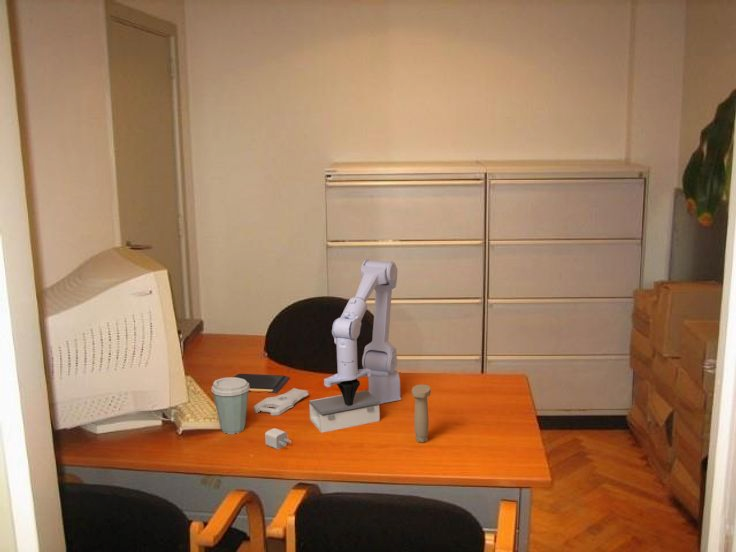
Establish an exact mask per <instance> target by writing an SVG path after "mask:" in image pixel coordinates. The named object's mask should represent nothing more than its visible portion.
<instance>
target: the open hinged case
mask: <svg viewBox="0 0 736 552" xmlns="http://www.w3.org/2000/svg"><path fill="white" fill-rule="evenodd" d="M308 404H309V420H310V421H311V422H312V424H313V425H314V426H315V427H316V429H317V430H318V431H319V432H320V433H321V434H322V433H326V432H332V431H337V430H341V429H347V428H353V427H357V426H362V425H366V424H373V423H377V422H380V419H381V418H380V414H381V413H380V404H375V405H370V406H364V407H359V408H354V409H349V410H344V411H339V412H334V413H328V414H323V415H321V414H320V413H319V412H318V411H317V410H316V409H315V408H314V407H313V406H312V405H311V404H310V403H308Z"/></svg>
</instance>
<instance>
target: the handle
mask: <svg viewBox="0 0 736 552" xmlns="http://www.w3.org/2000/svg"><path fill="white" fill-rule="evenodd" d="M431 390H432V389H431V387H430V385H428V384H417V385H415V386H412V388H411V395H412V397H413V398H414V399H415V401H414V419H413V420H414V421H413V422H414V423H413V425H414V434H415V441H417V443H421V444H424V443H425V442H426V443H427V442H428V440H429V436H428V435H429V429H430V427H429V422H430V421H429V407H428V398H429V396H430V395H431Z"/></svg>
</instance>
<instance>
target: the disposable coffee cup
mask: <svg viewBox="0 0 736 552" xmlns="http://www.w3.org/2000/svg"><path fill="white" fill-rule="evenodd" d="M249 387H250V386H249V383H248V382H247V381H246V380H244V379H241V378H236V377H235V376H233V377H232V376H230V377H221V378H219V379H215V380H214V381H213V383H212V386H211V392H212V395H213V399H214V404H215V409H216V413H217V418H218V422H219V427H220V429H221V432H222V433H223V434H225V433H227V434H226V435H236V434H235V433H237V434H240V433H242V432H244V430H245V426H246V421H247V420H246V419H247V410H248V400H249V393H250V392H249ZM241 431H242V432H241ZM239 432H240V433H239Z"/></svg>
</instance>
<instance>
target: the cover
mask: <svg viewBox="0 0 736 552" xmlns="http://www.w3.org/2000/svg"><path fill="white" fill-rule="evenodd" d="M308 401H309V403H308V404H311V405H312V406H313V407H314V408H315V409H316V410H317V411H318V412H319V413H320V414H321V415H323V414H328V413H334V412H339V411H344V410H349V409H354V408H359V407H364V406H370V405H375V404H379V405H381V404H380V400H378V399H377V398H376V397H374V396H373V395H372V394H370V393H369V390H367V389H366V390H360V391H356V393H355V396H354V400H353V405H351V406H347V405H346V404H345V402H344V398H343V395H342V394H337V395H331V396H326V397H321V398H317V399H311V400H308Z"/></svg>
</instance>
